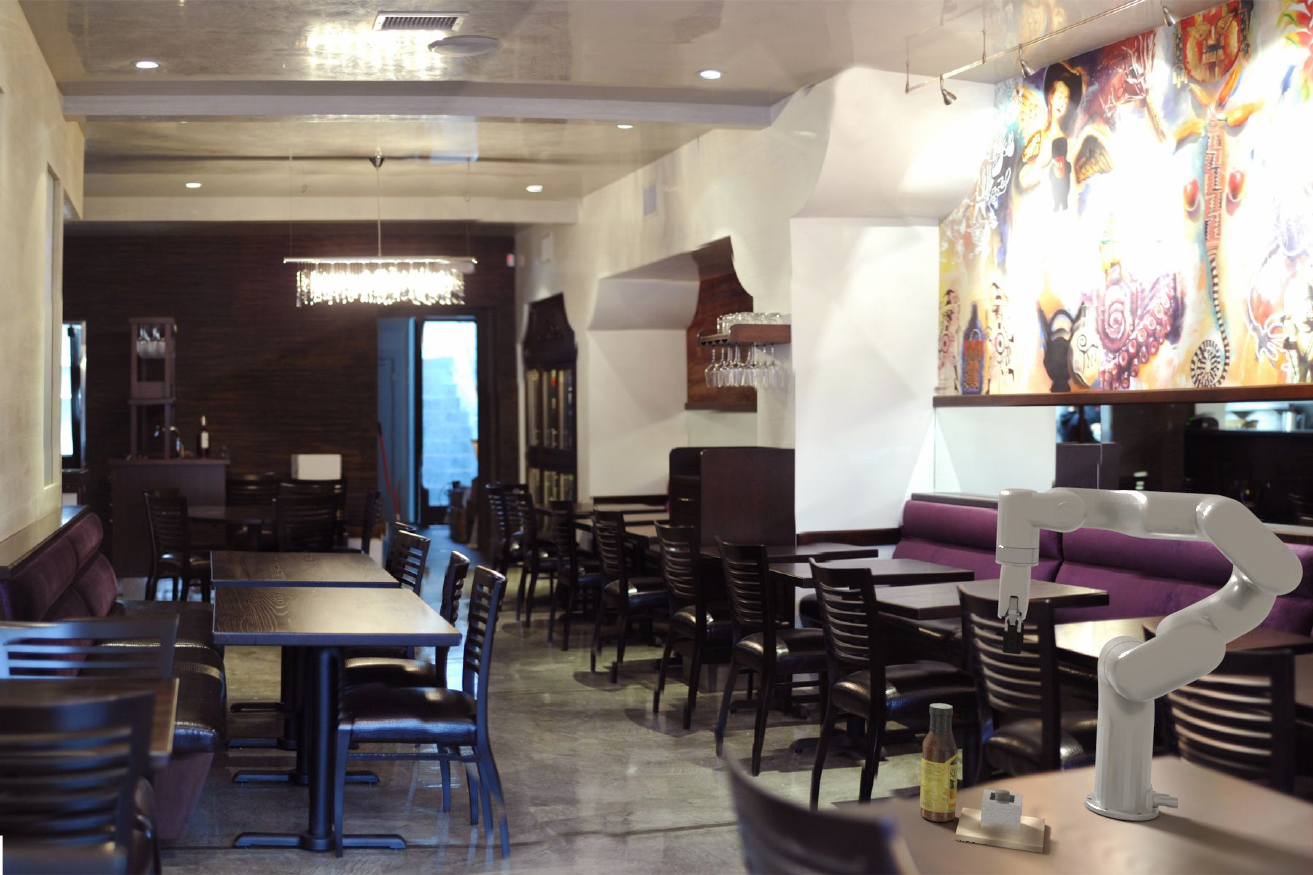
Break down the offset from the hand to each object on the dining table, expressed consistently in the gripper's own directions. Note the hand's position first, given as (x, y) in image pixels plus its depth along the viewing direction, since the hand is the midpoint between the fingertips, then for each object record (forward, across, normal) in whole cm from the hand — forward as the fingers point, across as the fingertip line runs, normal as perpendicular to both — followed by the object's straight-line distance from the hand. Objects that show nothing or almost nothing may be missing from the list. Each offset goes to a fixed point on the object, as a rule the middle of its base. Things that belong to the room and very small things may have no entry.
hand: (1013, 647), depth 222 cm
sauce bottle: (+28, +15, -11) cm, 34 cm away
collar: (+27, +18, 0) cm, 33 cm away
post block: (+28, +18, 0) cm, 34 cm away
